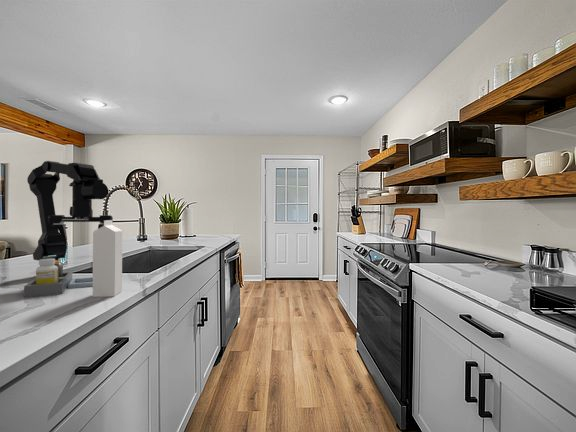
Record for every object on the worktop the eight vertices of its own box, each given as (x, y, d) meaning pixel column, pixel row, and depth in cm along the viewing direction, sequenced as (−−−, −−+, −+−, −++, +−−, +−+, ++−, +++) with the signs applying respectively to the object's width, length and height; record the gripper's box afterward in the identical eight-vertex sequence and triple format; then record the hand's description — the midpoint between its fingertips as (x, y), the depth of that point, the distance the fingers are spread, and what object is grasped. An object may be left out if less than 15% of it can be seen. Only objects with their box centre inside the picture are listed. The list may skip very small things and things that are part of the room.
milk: (122, 291, 98) (123, 220, 98) (114, 296, 92) (115, 220, 92) (100, 292, 97) (101, 219, 97) (91, 297, 91) (92, 220, 91)
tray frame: (72, 282, 110) (72, 278, 110) (104, 279, 114) (104, 276, 114) (68, 288, 101) (68, 284, 101) (103, 285, 106) (103, 281, 106)
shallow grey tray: (40, 282, 108) (40, 259, 108) (72, 280, 112) (72, 258, 112) (24, 296, 90) (24, 269, 90) (62, 293, 95) (62, 267, 94)
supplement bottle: (46, 288, 100) (46, 257, 100) (62, 289, 100) (62, 258, 99) (31, 293, 95) (31, 260, 95) (48, 293, 94) (48, 260, 94)
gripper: (113, 200, 123) (113, 241, 123) (54, 199, 115) (54, 242, 115) (112, 200, 113) (111, 243, 113) (47, 198, 105) (47, 245, 105)
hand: (81, 243), depth 112 cm, fingers open, 9 cm apart
